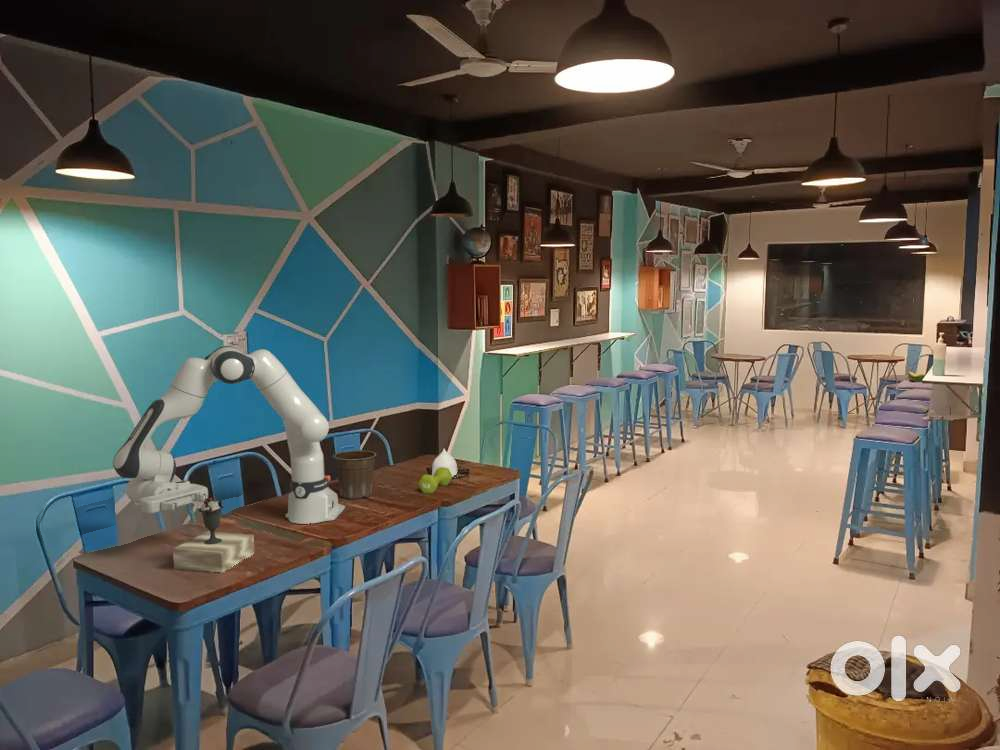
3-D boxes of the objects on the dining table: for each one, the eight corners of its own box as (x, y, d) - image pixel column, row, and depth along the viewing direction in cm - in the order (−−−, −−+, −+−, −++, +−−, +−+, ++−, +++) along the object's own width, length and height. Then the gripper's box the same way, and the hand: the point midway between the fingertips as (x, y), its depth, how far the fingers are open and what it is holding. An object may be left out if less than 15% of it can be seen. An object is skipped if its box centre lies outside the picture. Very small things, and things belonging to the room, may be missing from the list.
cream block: (208, 550, 232) (207, 531, 231) (254, 553, 228) (253, 534, 227) (174, 568, 217) (172, 548, 216) (222, 573, 213) (221, 552, 212)
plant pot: (378, 488, 301) (377, 449, 299) (376, 499, 285) (375, 458, 283) (337, 490, 299) (335, 451, 297) (333, 502, 283) (331, 460, 281)
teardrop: (439, 471, 328) (438, 444, 326) (462, 473, 323) (461, 446, 322) (427, 477, 318) (426, 449, 316) (450, 479, 313) (450, 451, 312)
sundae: (196, 545, 219) (193, 495, 217) (208, 537, 225) (205, 488, 223) (217, 545, 218) (215, 495, 216) (228, 538, 224) (226, 489, 223)
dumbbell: (435, 495, 290) (434, 477, 290) (417, 493, 293) (416, 475, 293) (454, 484, 305) (453, 467, 305) (436, 483, 308) (436, 466, 308)
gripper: (130, 494, 226) (156, 500, 218) (191, 479, 242) (218, 485, 235) (131, 514, 226) (157, 521, 218) (193, 498, 243) (219, 505, 235)
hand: (189, 502), depth 227 cm, fingers open, 8 cm apart
